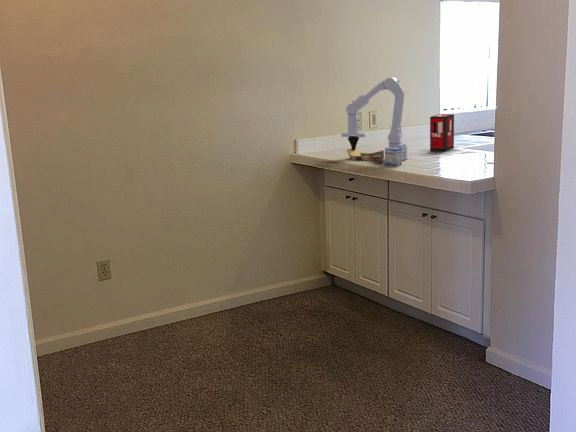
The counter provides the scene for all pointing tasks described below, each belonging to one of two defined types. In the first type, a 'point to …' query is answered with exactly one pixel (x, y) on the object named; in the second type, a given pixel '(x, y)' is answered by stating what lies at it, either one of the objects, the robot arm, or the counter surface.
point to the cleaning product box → (442, 132)
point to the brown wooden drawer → (367, 156)
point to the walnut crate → (378, 159)
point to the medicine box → (393, 156)
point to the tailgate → (353, 152)
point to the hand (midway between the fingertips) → (353, 150)
